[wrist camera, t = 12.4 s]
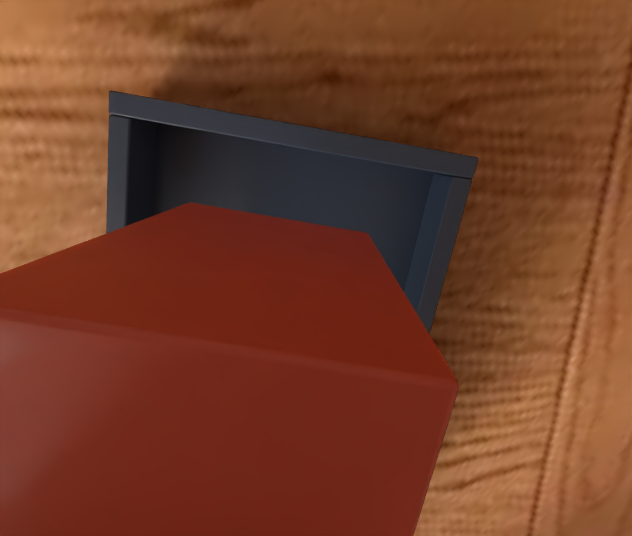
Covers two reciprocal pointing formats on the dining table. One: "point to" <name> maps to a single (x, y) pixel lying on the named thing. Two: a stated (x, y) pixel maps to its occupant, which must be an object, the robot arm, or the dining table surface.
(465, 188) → the tray
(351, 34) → the dining table surface
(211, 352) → the bar
